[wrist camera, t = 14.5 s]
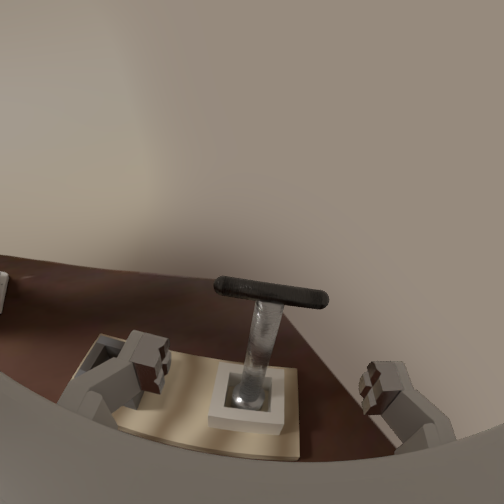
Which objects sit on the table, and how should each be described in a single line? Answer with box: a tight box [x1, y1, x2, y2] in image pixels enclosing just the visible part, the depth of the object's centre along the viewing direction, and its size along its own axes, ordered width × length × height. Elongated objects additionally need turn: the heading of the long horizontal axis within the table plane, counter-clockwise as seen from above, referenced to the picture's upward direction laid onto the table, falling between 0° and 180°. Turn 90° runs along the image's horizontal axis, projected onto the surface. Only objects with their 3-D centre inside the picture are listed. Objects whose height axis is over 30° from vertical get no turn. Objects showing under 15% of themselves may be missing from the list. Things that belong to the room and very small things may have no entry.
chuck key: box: [213, 276, 329, 411], centre depth 27 cm, size 10×4×18 cm, turn 86°
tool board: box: [70, 333, 300, 461], centre depth 31 cm, size 30×14×4 cm, turn 86°
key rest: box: [208, 362, 284, 435], centre depth 30 cm, size 8×8×3 cm
